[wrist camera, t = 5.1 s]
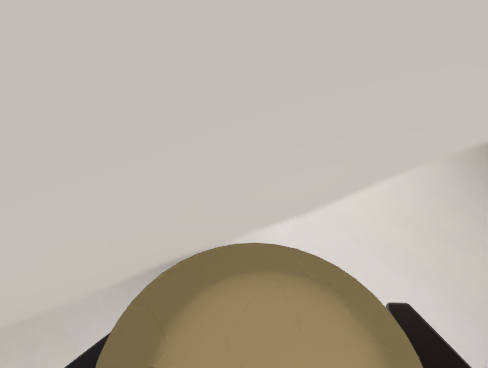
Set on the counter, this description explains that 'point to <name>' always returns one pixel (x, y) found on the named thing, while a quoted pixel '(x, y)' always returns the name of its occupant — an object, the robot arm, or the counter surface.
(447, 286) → the counter surface
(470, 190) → the counter surface
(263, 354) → the brass cylinder
